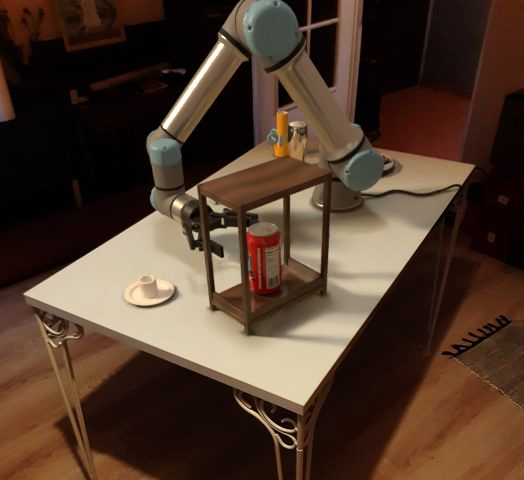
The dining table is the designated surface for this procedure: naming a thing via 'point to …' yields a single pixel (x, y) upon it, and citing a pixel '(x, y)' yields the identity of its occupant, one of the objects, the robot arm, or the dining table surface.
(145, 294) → the candle holder
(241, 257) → the shelf stand
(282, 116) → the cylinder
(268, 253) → the soda can
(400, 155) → the dining table surface
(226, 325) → the dining table surface
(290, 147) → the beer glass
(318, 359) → the dining table surface
